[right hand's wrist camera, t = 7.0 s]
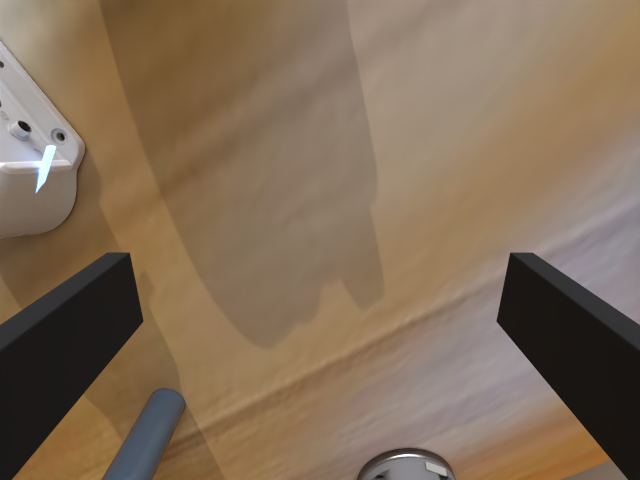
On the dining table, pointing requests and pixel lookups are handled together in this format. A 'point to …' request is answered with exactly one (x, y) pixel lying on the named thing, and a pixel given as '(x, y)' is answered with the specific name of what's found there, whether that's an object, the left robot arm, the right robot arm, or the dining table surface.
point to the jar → (147, 438)
